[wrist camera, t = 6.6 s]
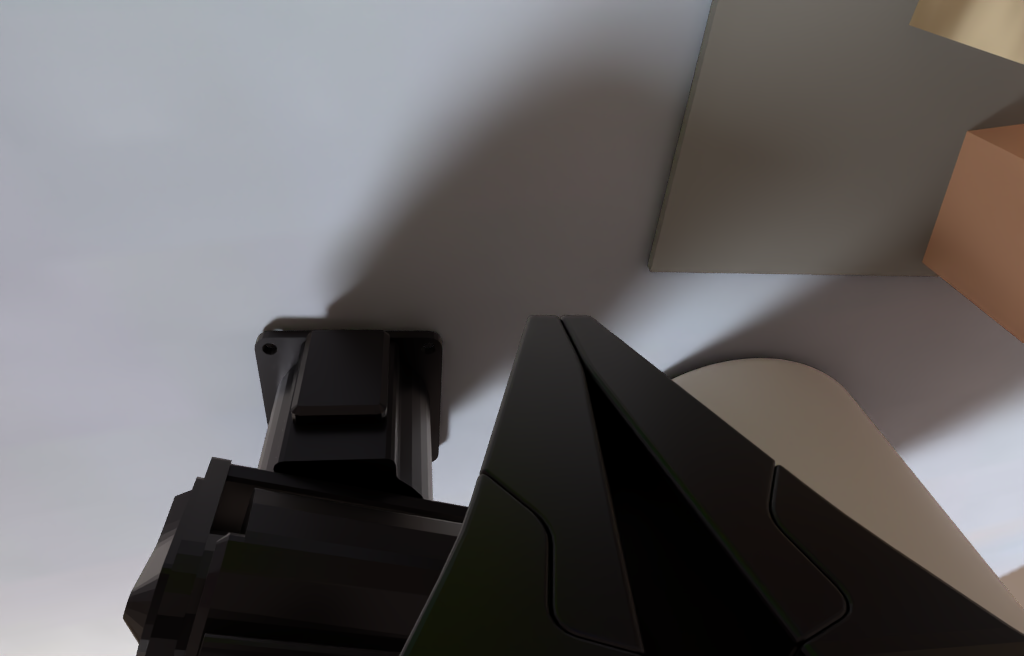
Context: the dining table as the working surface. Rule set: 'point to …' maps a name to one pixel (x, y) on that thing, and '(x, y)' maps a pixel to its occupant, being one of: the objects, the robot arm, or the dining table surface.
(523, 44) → the dining table surface
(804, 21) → the mat
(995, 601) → the cylinder vase
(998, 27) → the plain block
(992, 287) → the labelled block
